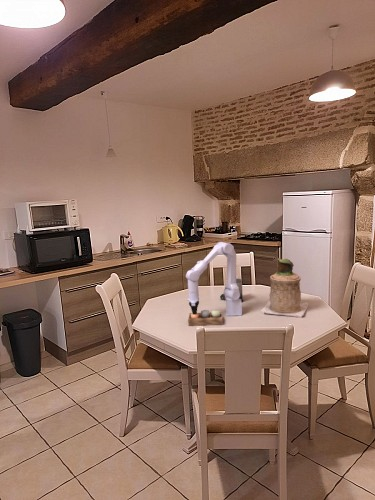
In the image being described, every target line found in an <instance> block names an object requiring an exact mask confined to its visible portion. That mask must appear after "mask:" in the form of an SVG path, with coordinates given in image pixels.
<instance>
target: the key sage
mask: <svg viewBox="0 0 375 500" xmlns="http://www.w3.org/2000/svg"><path fill="white" fill-rule="evenodd" d="M211 312H212V318H214V317H220V312H221V311H220V310H219V309H212V310H211Z"/></svg>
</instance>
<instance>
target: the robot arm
mask: <svg viewBox="0 0 375 500" xmlns="http://www.w3.org/2000/svg"><path fill="white" fill-rule="evenodd" d="M234 248H235V246H234V245H232V244H231V243H229V242H224V241H218V242H217V243H216V244H214V246H213V248H212V249H211V250H210V251H209V253H208V254H207V255H206V256H205V258H203V260H202V259H201V260H198V261H196V264H195V265H194V266H193V267H192V268H191V269H189V270H188V271H187V272H186V274H185V278H186V279H187V291H188V293H187V294H188V298H186V301H189V302H188V305H189V306H190V309H191V313H193V315H194V314H197V313H198V308H199V304H200V301H199V300H200V296H199V279H200V276H201V275H202V274H203V273H204V271H205V270H206V269H208V265H209V263H211V262H212V261H213V260H214V259H215V258H216V257H217V256H224V257H225V258H226V284H225V285H224V288H223V293H222V294H224V296H225V298H226V300H225V308H226V309H225V316H232V317H233V316H243V305H242V304H243V302H241V299H239V297H240V292H239V288H238V286H237V284H236V279H237V252H236V251H235V249H234Z"/></svg>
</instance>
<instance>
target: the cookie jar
mask: <svg viewBox="0 0 375 500" xmlns="http://www.w3.org/2000/svg"><path fill="white" fill-rule="evenodd" d="M277 261H278V262H277V271H276V272H275V273H274V274H272V275H270V276H269V280H270V290H269V300H268V301H267V302H266V305H264V307H263V308H262V309H261V310H260V312H261V313H262V315H265V314H269V315H278V316H288V317H293V318H294V317H295V318H302V317H304V316H305V312H306V311H307V310H308V306H309V305H308V302H306V301H305V302H304V301H302V299H301V298H302V297H301V296H302V294H301V293H302V292H301V287H300V284H301V283H300V282H301V279H302V277H301V276H300V275H298V274H297V273H295V272H293V269H294V264H293V262H292V261H291V260H290V259H288V258H284V259H283V258H282V259H281V258H277Z"/></svg>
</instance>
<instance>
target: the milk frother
mask: <svg viewBox="0 0 375 500" xmlns="http://www.w3.org/2000/svg"><path fill="white" fill-rule="evenodd" d="M236 284H237V286H238V288H239V292H240V297H239V299H241V302H242V303H244V297H243V279H242V278H236ZM219 297H220V300H223V301H226V297H225V296H224V293H221V294H220V295H219Z"/></svg>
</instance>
